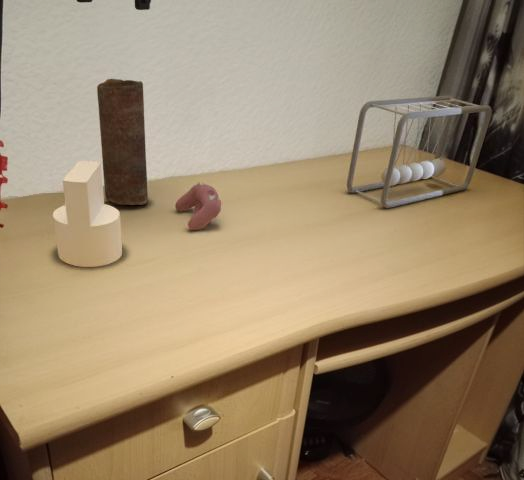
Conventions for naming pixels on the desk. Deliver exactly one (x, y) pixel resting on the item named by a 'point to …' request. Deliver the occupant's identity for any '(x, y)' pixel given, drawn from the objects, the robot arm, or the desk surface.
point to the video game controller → (200, 205)
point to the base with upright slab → (87, 220)
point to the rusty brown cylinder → (123, 141)
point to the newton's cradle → (414, 169)
